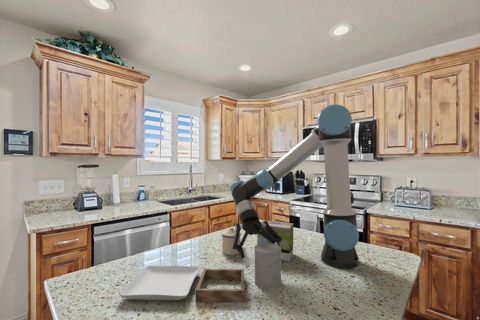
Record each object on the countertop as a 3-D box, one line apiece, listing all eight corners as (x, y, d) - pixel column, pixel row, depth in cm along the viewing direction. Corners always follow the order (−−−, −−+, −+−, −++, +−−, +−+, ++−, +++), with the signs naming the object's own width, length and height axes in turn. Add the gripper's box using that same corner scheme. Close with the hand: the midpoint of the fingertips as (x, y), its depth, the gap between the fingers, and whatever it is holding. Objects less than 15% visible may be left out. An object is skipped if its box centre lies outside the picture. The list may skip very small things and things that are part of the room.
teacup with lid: (243, 254, 111) (243, 229, 112) (223, 256, 109) (223, 231, 109) (237, 246, 123) (237, 223, 123) (219, 247, 121) (219, 224, 121)
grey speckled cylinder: (283, 278, 89) (283, 245, 89) (278, 291, 80) (278, 254, 80) (258, 274, 92) (258, 242, 92) (251, 286, 83) (251, 250, 83)
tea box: (256, 257, 109) (256, 224, 109) (263, 249, 118) (263, 219, 118) (289, 262, 103) (289, 227, 103) (293, 254, 113) (293, 222, 113)
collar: (244, 278, 88) (244, 269, 89) (244, 302, 73) (244, 290, 74) (203, 278, 89) (203, 268, 89) (195, 301, 74) (195, 290, 74)
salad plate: (146, 273, 93) (146, 264, 93) (201, 274, 93) (201, 265, 93) (117, 305, 72) (117, 294, 72) (187, 307, 72) (187, 295, 72)
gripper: (270, 215, 108) (289, 262, 94) (217, 221, 98) (230, 273, 84) (276, 206, 103) (298, 253, 89) (221, 210, 93) (236, 264, 79)
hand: (265, 263), depth 86 cm, fingers open, 13 cm apart
